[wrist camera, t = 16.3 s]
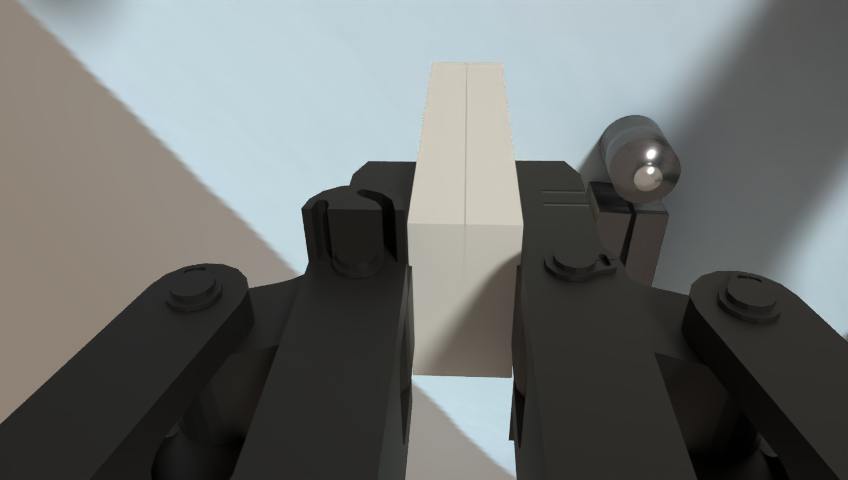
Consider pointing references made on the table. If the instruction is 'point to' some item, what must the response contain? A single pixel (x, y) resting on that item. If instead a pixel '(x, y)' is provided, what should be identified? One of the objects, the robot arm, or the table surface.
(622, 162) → the base
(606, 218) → the tong arm
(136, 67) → the table surface
